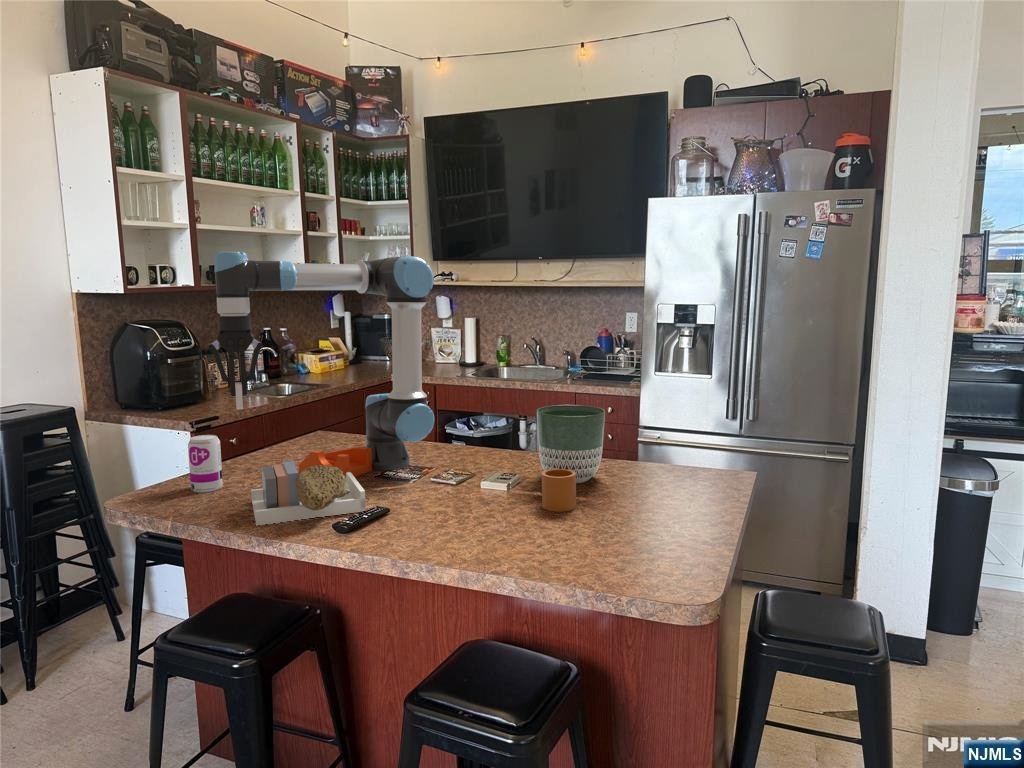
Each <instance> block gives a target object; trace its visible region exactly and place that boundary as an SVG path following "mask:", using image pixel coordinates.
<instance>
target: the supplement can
mask: <svg viewBox="0 0 1024 768" xmlns="http://www.w3.org/2000/svg"><path fill="white" fill-rule="evenodd" d="M187 449H188V453H187V454H188V466H189V481H190V483H189V484H190V490H191V491H193V492H194V493H200V494H201V493H211V492H215V491H218V490H220V489H221V488H223V468H222V451H221V440H220V439H219V438H218V436H217V435H215V434H202V435H196V436H192V437H190V438H189V441H188V443H187Z"/></svg>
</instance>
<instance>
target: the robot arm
mask: <svg viewBox="0 0 1024 768" xmlns="http://www.w3.org/2000/svg"><path fill="white" fill-rule="evenodd" d="M213 272H214V277H215V278H214V279H215V289H216V310H217V313H218V314H219V316H218V317H217V325H218V335H217V337H216V340H214V341H213V342H210V343H209V344H208V349H209V350H210V351H211V353H212V354H213V356H214V359H215V362H216V365H217V369H218V371H219V375H220V377H221V380H222V382H224V383H228V384H229V388H230V395H231V397H235V403H236V404H235V406H236V410H244V399H243V397H244V396H247V394H248V387H247V386H248V385H247V383H248V382H250V381H253V380H254V378H255V374H256V369H257V364H258V360H259V355H260V354H259V353H260V351H261V349H262V348H263V346H264V344H263V342H261V341H259V340H257V339H255V337H254V335H253V332H252V326H251V325H252V324H251V323H252V322H251V321H252V320H251V316H250V315H249V314H250V313H251V306H250V304H251V303H250V292H257V291H262V292H263V291H264V292H265V291H271V292H273V291H280V292H283V291H356V292H357V293H359V294H370V295H371V294H372V295H379V296H383V297H384V296H386V297H385V301H386V302H385V303H386V304H387V305H388V307H390V308H391V351H392V353H391V355H392V357H391V358H392V361H391V362H392V365H391V366H392V368H391V369H392V390H391V392H389V393H377V394H370V395H368V396H367V397H366V399H365V404H364V405H365V406H364V408H365V427H366V428H365V429H366V430H365V432H366V444H365V447H368V448H372V471H373V472H374V471H375V472H388V471H387V470H391V471H395V470H394V469H397V470H399V469H398V468H402V469H404V468H403V467H405V468H407V467H409V466H410V465H411V456H410V454H409V451H408V448H407V445H406V442H407V443H408V442H410V443H417V442H420V441H422V440H424V439H425V438H427V437H428V435H429V434H431V432H432V430H433V428H434V424H435V415H434V412H433V410H432V409H431V408H430V406H428V395H427V394H426V392H424V390H423V386H422V384H423V381H422V380H423V374H422V373H423V371H422V370H423V369H422V367H423V363H422V362H423V361H422V357H423V356H422V355H423V354H422V348H423V347H422V309H423V308H424V307H425V306H426V305H427V295H428V294H429V293H430V291H431V290H432V289H433V285H434V280H435V279H434V273H433V270H432V268H431V266H430V265H429V264H428V263H427V262H426V260H424V259H422V258H421V257H417V256H413V255H403V256H394V257H385V258H379V259H375V260H374V259H372V260H358V261H357V262H356V263H354V264H353V263H307V262H305V263H303V262H299V263H297V262H296V263H295V262H291V261H286V260H284V261H283V260H252V259H249V258H248V255H247V253H246V252H244V251H219V252H216V253H215V255H214V271H213ZM251 344H252V348H253V351H252V356H251V361H250V364H249V365H250V366H249V372H248V375H247V371H246V370H247V369H246V351H247V349H248V348H249V347H250V346H251ZM219 345H220V346H221V347H222V348H223V349H224V350H225V351H226V352H227V353H228V354H227V357H228V370H229V375H228V376H227V373H226V371H225V367H224V364H223V361H222V358H221V355H220V352H219V350H220V346H219ZM235 353H238V354H239V355H238V357H239V371H240V372H239V373H240V382H236V374H235V372H236V371H235ZM408 465H409V466H408ZM406 466H407V467H406ZM372 471H371V472H372Z"/></svg>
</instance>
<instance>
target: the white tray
mask: <svg viewBox="0 0 1024 768" xmlns="http://www.w3.org/2000/svg"><path fill="white" fill-rule="evenodd" d="M346 479H347V481H348V483H349V488H350V492H349V494H346V495H345V496H344V497H342V498H336V499H335V500H334V501H333V502H332V503H331V504H329V505H328V506H327V507H325V508H324V509H321V510H315V511H313V510H311V509H309V508H306V507H305V506H304V505H302V503H301V502H300V505H296V506H287V507H279V508H270V509H266V507H265V503H264V499H263V488H255V489H250V491H251V505H253V506H252V511H253V515H254V521H256V522H255V525H256V527H257V526H258V525H260V526H266V525H265V524H268V525H273V523H276V524H281V523H280V522H283V523H288V522H287V521H291V522H295V521H294V520H299V521H302V520H301V519H307V520H309V519H308V518H315V517H323V518H325V517H324V516H331V515H339V514H345V513H354V512H359V511H362V510H366V490H365V489H364V488H363V487H362V485H361V484H360V483H359V481H358V480H357V478H356V477H354V476H353V475H352V473H351V472H346ZM354 514H355V513H354ZM339 516H340V515H339ZM331 517H332V516H331ZM315 519H316V518H315ZM258 527H259V526H258Z"/></svg>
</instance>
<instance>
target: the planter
mask: <svg viewBox="0 0 1024 768" xmlns="http://www.w3.org/2000/svg"><path fill="white" fill-rule="evenodd" d="M605 416H606V410H605V409H604V408H601V407H599V406H598V407H597V406H592V405H583V404H582V405H581V404H559V405H558V404H556V405H546V406H543V407H542V406H541V407H540V408H537V409H536V423H537V425H536V426H537V443H538V455H539V462H540V464H541V466H542V469H543V471H546V470H551V469H567V470H572V471H574V472H575V473H576V485H577V484H582V483H586V482H587V481H589V480H590V479H591V478H592V477H593V476H594V475H596V473H597V472H598V470H599V468H600V465H601V461H602V457H603V456H602V455H603V447H604V435H605V434H604V432H605V421H606V418H605Z"/></svg>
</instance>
